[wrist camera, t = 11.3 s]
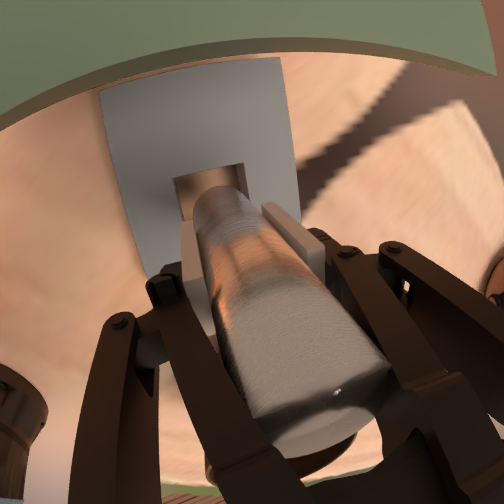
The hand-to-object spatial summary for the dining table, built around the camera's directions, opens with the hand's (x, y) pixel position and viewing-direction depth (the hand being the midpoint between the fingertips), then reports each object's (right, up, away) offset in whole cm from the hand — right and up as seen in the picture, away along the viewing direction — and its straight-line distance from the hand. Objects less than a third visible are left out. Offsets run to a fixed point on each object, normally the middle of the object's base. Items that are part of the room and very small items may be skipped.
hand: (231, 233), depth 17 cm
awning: (-4, +15, +4) cm, 16 cm away
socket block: (-3, +6, +9) cm, 11 cm away
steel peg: (-1, +2, +3) cm, 4 cm away
